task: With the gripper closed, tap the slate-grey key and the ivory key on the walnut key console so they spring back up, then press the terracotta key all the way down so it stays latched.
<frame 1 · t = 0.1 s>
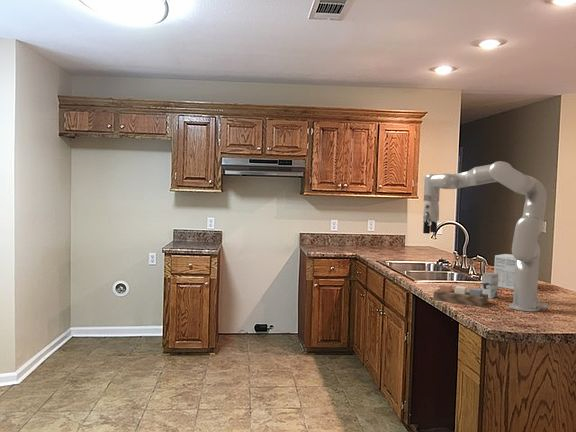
hand: (430, 232, 244), 31 cm above the counter, fingers open, 9 cm apart
console: (460, 301, 231), on the counter
ink box: (489, 297, 243), on the counter
supplement box: (510, 287, 272), on the counter
key ivory: (460, 291, 231), point 5 cm above the counter, slide at 0.1 cm
key slate: (476, 293, 226), point 5 cm above the counter, slide at 0.1 cm
key terracotta: (446, 289, 235), point 5 cm above the counter, slide at 0.0 cm
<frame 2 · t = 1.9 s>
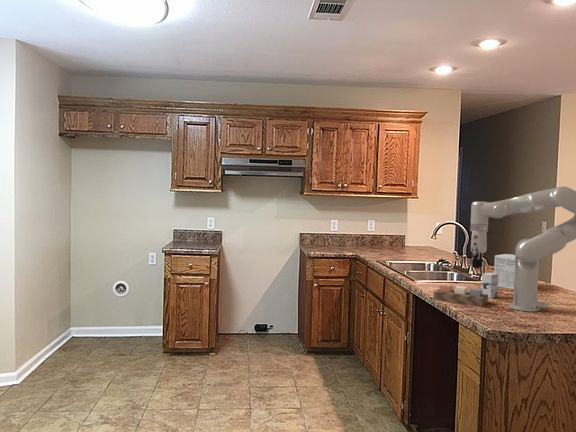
hand: (477, 266, 226), 17 cm above the counter, fingers open, 3 cm apart
nothing on the counter moved.
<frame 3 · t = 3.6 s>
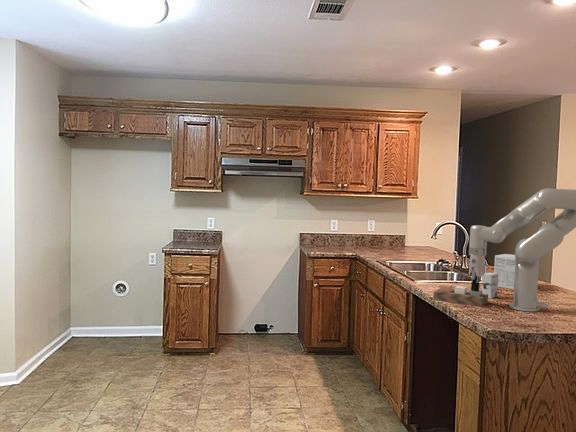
hand: (474, 290, 227), 6 cm above the counter, fingers closed
key slate: (476, 295, 227), point 4 cm above the counter, slide at 0.9 cm, touching gripper
everything else where it was.
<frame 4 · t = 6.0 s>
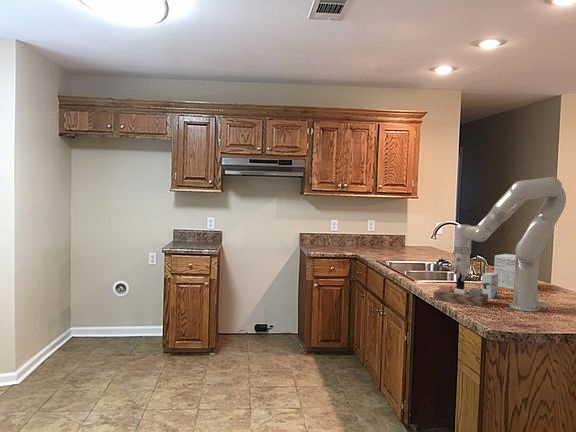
hand: (460, 288, 231), 6 cm above the counter, fingers closed
key ivory: (460, 293, 231), point 4 cm above the counter, slide at 1.0 cm, touching gripper
key slate: (476, 293, 226), point 5 cm above the counter, slide at 0.1 cm
everything else where it was.
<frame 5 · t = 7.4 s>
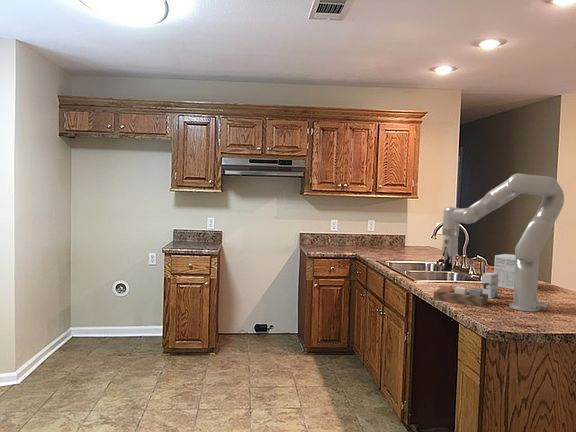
hand: (447, 270, 234), 14 cm above the counter, fingers closed
key ivory: (460, 291, 231), point 4 cm above the counter, slide at 0.3 cm
everything else where it was.
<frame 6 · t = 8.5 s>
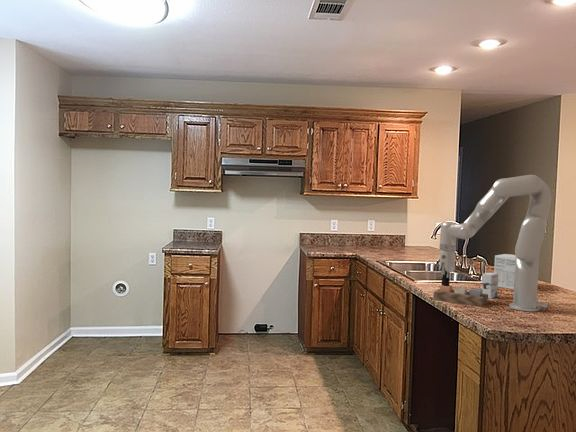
hand: (445, 285, 235), 7 cm above the counter, fingers closed
key terracotta: (446, 289, 235), point 4 cm above the counter, slide at 0.3 cm, touching gripper
everything else where it was.
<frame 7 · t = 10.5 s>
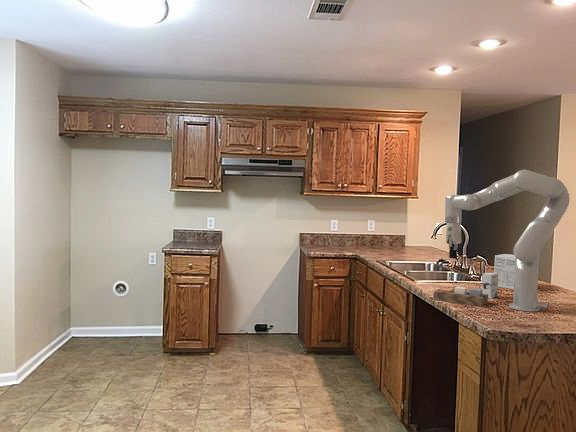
hand: (453, 258, 235), 20 cm above the counter, fingers closed
key terracotta: (446, 293, 235), point 3 cm above the counter, slide at 2.1 cm
everything else where it was.
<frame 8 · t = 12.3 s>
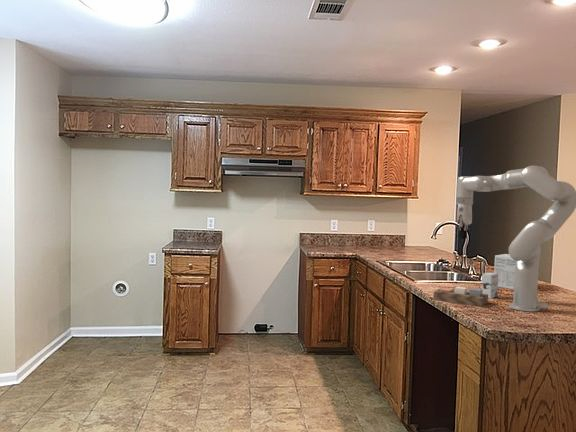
hand: (463, 238, 239), 29 cm above the counter, fingers closed
nothing on the counter moved.
at the end: key terracotta slide at 2.1 cm; key ivory slide at 0.3 cm; key slate slide at 0.1 cm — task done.
